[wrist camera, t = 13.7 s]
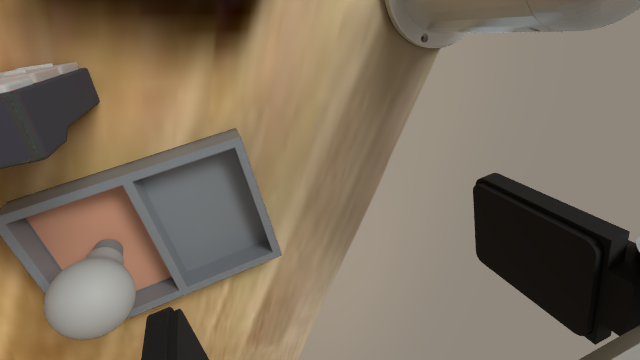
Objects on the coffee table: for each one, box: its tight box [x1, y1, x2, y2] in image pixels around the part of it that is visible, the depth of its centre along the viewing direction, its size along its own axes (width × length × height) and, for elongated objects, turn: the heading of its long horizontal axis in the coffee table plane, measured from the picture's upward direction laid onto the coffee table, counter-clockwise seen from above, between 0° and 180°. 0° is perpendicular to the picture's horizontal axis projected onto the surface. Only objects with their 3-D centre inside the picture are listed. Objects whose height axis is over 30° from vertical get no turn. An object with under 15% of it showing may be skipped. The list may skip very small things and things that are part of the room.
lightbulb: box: [44, 239, 136, 340], centre depth 31 cm, size 6×6×11 cm
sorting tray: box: [0, 128, 282, 319], centre depth 36 cm, size 21×14×4 cm, turn 103°
